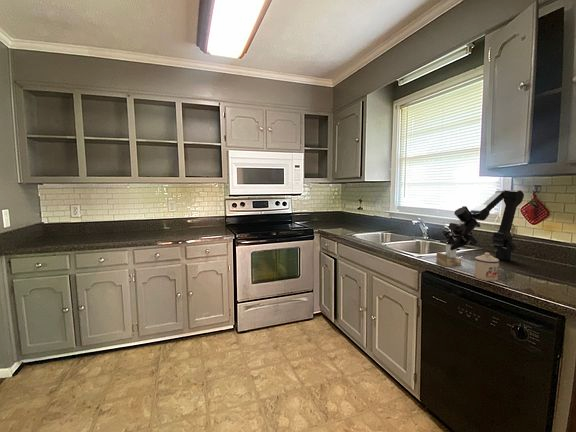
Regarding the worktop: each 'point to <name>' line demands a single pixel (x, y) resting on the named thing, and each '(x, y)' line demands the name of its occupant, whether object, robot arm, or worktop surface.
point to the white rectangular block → (450, 251)
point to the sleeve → (447, 260)
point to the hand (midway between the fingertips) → (448, 249)
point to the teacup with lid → (486, 267)
